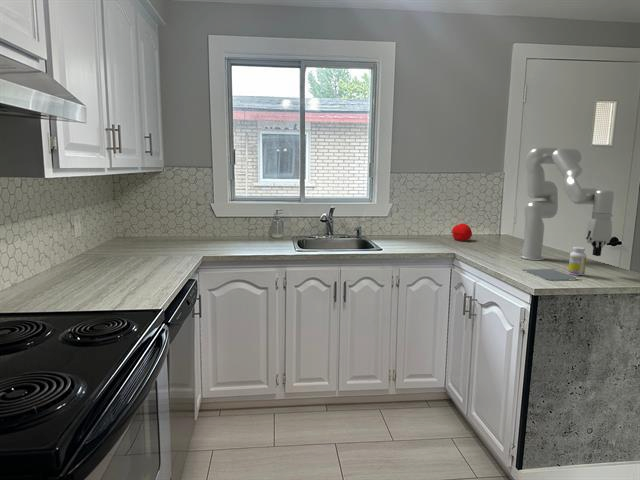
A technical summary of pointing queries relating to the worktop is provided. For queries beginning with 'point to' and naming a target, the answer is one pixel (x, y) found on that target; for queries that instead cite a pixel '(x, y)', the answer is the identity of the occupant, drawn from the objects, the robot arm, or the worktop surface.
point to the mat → (550, 274)
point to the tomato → (461, 232)
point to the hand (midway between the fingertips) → (596, 255)
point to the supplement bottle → (577, 261)
